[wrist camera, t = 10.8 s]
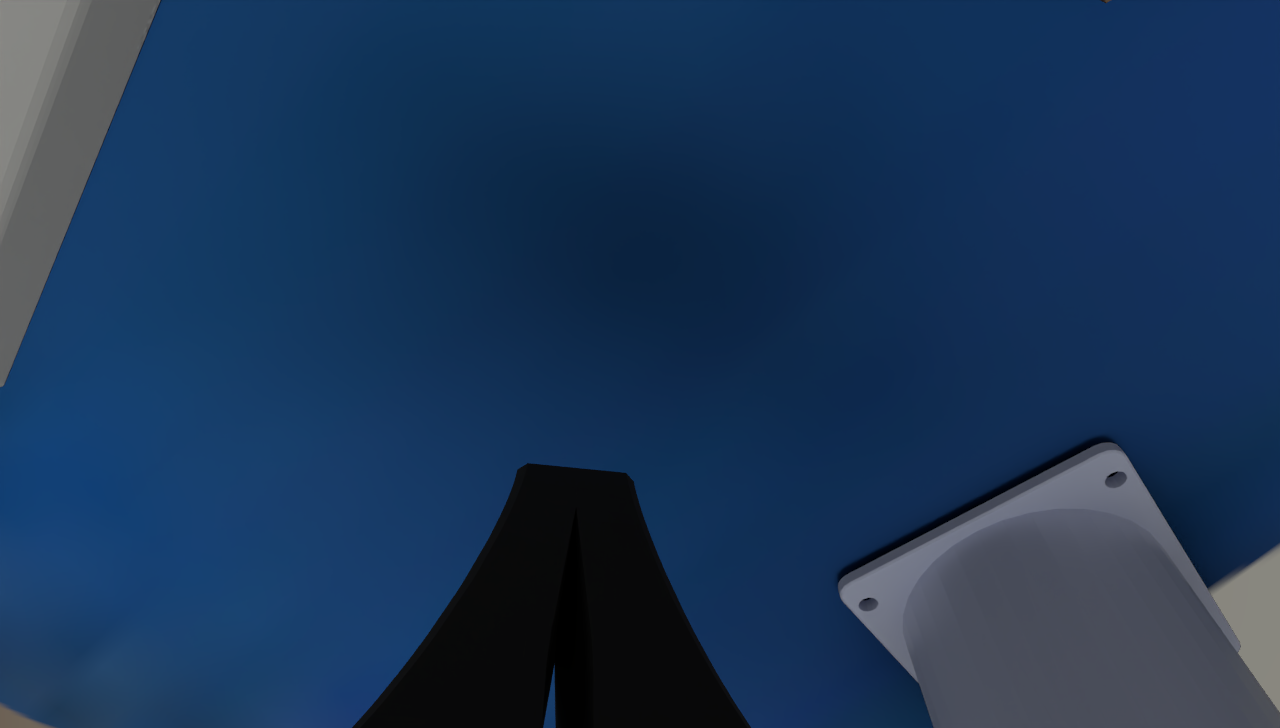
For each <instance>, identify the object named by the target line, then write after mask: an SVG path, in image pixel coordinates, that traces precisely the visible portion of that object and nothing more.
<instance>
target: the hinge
mask: <svg viewBox="0 0 1280 728" xmlns="http://www.w3.org/2000/svg"><path fill="white" fill-rule="evenodd" d="M159 3H160V0H0V387H2V386H4V384H5V381H6V379H7V376H8V374H9V371H10V369H11V366H12V364H13V362H14V359H15V357H16V354H17V352H18V349H19V347H20V344H21V342H22V339H23V337H24V335H25V332H26V330H27V327H28V325H29V322H30V320H31V317H32V315H33V312H34V310H35V308H36V305H37V303H38V300H39V298H40V295H41V293H42V290H43V288H44V285H45V283H46V280H47V278H48V276H49V273H50V271H51V268H52V266H53V263H54V261H55V258H56V256H57V253H58V251H59V249H60V246H61V244H62V241H63V239H64V236H65V234H66V231H67V229H68V226H69V224H70V222H71V219H72V217H73V214H74V212H75V209H76V207H77V204H78V202H79V199H80V197H81V194H82V192H83V190H84V187H85V185H86V182H87V180H88V177H89V175H90V172H91V170H92V167H93V165H94V163H95V160H96V158H97V155H98V153H99V150H100V148H101V145H102V143H103V140H104V138H105V136H106V133H107V131H108V128H109V126H110V123H111V121H112V118H113V116H114V113H115V111H116V109H117V106H118V104H119V101H120V99H121V96H122V94H123V91H124V89H125V86H126V84H127V81H128V79H129V77H130V74H131V72H132V69H133V67H134V64H135V62H136V59H137V57H138V54H139V52H140V50H141V47H142V45H143V42H144V40H145V37H146V35H147V32H148V30H149V27H150V25H151V23H152V20H153V18H154V15H155V13H156V10H157V8H158V5H159Z"/></svg>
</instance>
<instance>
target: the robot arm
mask: <svg viewBox="0 0 1280 728" xmlns="http://www.w3.org/2000/svg"><path fill="white" fill-rule="evenodd" d="M1117 471H1118V472H1117ZM1114 472H1117V473H1116V474H1115V475H1114V476H1112V477H1108V478H1107V476H1109V475H1110V474H1111V473H1114ZM838 590H839V594H840V597H841V599H842V601H843V602H844V603H845V604H846V605H847V607H848V608H849V609H850V610H851V611H852V612H853V613H854V614H855V615H856V616H857V617H858V618H859V620H860V621H861V622H862V623H863V624H864V625H865V626H866V627H867V628H868V629H869V630H870V631H871V632H872V634H873V635H874V636H875V637H876V638H877V639H878V640H879V641H880V642H881V643H882V644H883V645H884V647H885V648H886V649H887V650H888V651H889V652H890V653H891V654H892V655H893V656H894V657H895V658H896V659H897V661H898V662H899V663H900V664H901V665H902V666H903V667H904V668H905V669H906V670H907V671H908V672H909V674H910V675H911V676H912V677H913V678H914V679H915V680H916V681H917V682H918V683H919V685H920V688H921V691H922V694H923V697H924V700H925V703H926V706H927V709H928V712H929V715H930V718H931V721H932V724H933V727H934V728H1280V712H1279V711H1278V710H1277V708H1276V707H1275V705H1274V704H1273V703H1272V701H1271V700H1270V698H1269V697H1268V695H1267V694H1266V693H1265V691H1264V690H1263V688H1262V687H1261V686H1260V684H1259V683H1258V681H1257V680H1256V678H1255V677H1254V676H1253V674H1252V673H1251V671H1250V670H1249V668H1248V667H1247V666H1246V664H1245V663H1244V661H1243V660H1242V659H1241V657H1240V656H1239V654H1238V651H1239V649H1240V647H1241V646H1240V642H1239V640H1238V639H1237V637H1236V635H1235V634H1234V632H1233V630H1232V629H1231V627H1230V625H1229V624H1228V622H1227V620H1226V619H1225V617H1224V615H1223V614H1222V612H1221V610H1220V609H1219V607H1218V606H1217V604H1216V602H1215V601H1214V599H1213V597H1212V596H1211V594H1210V592H1209V591H1208V589H1207V587H1206V586H1205V584H1204V582H1203V581H1202V579H1201V578H1200V576H1199V574H1198V573H1197V571H1196V569H1195V568H1194V566H1193V564H1192V563H1191V561H1190V559H1189V558H1188V556H1187V554H1186V553H1185V551H1184V550H1183V548H1182V546H1181V545H1180V543H1179V541H1178V540H1177V538H1176V536H1175V535H1174V533H1173V531H1172V530H1171V528H1170V526H1169V525H1168V523H1167V522H1166V520H1165V518H1164V517H1163V515H1162V513H1161V512H1160V510H1159V508H1158V507H1157V505H1156V503H1155V502H1154V500H1153V498H1152V497H1151V495H1150V494H1149V492H1148V490H1147V489H1146V487H1145V485H1144V484H1143V482H1142V480H1141V479H1140V477H1139V475H1138V474H1137V472H1136V470H1135V469H1134V467H1133V466H1132V464H1131V462H1130V461H1129V459H1128V457H1127V456H1126V454H1125V453H1124V452H1123V450H1122V449H1121V448H1120V447H1119V446H1118V445H1117V444H1114V443H1110V442H1109V443H1100V444H1098V445H1095V446H1093V447H1091V448H1089V449H1087V450H1085V451H1083V452H1081V453H1079V454H1077V455H1075V456H1073V457H1071V458H1069V459H1068V460H1066V461H1064V462H1062V463H1060V464H1058V465H1056V466H1054V467H1052V468H1050V469H1048V470H1046V471H1044V472H1043V473H1041V474H1039V475H1037V476H1035V477H1033V478H1031V479H1029V480H1027V481H1025V482H1023V483H1021V484H1019V485H1018V486H1016V487H1014V488H1012V489H1010V490H1008V491H1006V492H1004V493H1002V494H1000V495H998V496H996V497H995V498H993V499H991V500H989V501H987V502H985V503H983V504H981V505H979V506H977V507H975V508H973V509H971V510H970V511H968V512H966V513H964V514H962V515H960V516H958V517H956V518H954V519H952V520H950V521H948V522H946V523H945V524H943V525H941V526H939V527H937V528H935V529H933V530H931V531H929V532H927V533H925V534H923V535H922V536H920V537H918V538H916V539H914V540H912V541H910V542H908V543H906V544H904V545H902V546H900V547H898V548H897V549H895V550H893V551H891V552H889V553H887V554H885V555H883V556H881V557H879V558H877V559H875V560H873V561H872V562H870V563H868V564H866V565H864V566H862V567H860V568H858V569H856V570H854V571H852V572H850V573H848V574H847V575H845V576H844V577H843V578H841V580H840V581H839V583H838ZM866 598H871V599H869V600H865V601H864V600H863V599H866ZM554 663H555V717H556V728H751V727H750V725H749V724H748V722H747V721H746V719H745V718H744V716H743V715H742V713H741V712H740V710H739V709H738V707H737V706H736V704H735V702H734V701H733V699H732V698H731V696H730V694H729V693H728V691H727V689H726V688H725V686H724V684H723V683H722V681H721V679H720V678H719V676H718V674H717V673H716V671H715V669H714V667H713V666H712V664H711V662H710V660H709V658H708V657H707V655H706V653H705V651H704V649H703V647H702V646H701V644H700V642H699V640H698V638H697V637H696V635H695V633H694V631H693V629H692V627H691V625H690V623H689V621H688V619H687V617H686V615H685V613H684V611H683V609H682V607H681V605H680V603H679V600H678V598H677V596H676V594H675V592H674V590H673V588H672V585H671V583H670V581H669V579H668V577H667V575H666V573H665V570H664V568H663V566H662V563H661V561H660V559H659V556H658V554H657V551H656V549H655V546H654V544H653V541H652V539H651V536H650V533H649V531H648V528H647V525H646V522H645V520H644V517H643V514H642V511H641V508H640V504H639V501H638V498H637V494H636V490H635V486H634V481H633V480H632V479H631V478H630V477H629V476H628V475H627V473H621V472H611V471H601V470H590V469H580V468H570V467H560V466H550V465H539V464H529V463H527V464H526V465H524V466H523V467H521V468H520V469H518V470H517V474H516V478H515V481H514V484H513V487H512V490H511V492H510V495H509V498H508V500H507V502H506V505H505V507H504V509H503V511H502V513H501V515H500V517H499V519H498V521H497V523H496V525H495V527H494V529H493V531H492V533H491V535H490V537H489V539H488V541H487V542H486V544H485V546H484V548H483V549H482V551H481V553H480V554H479V556H478V558H477V560H476V561H475V563H474V565H473V566H472V568H471V570H470V572H469V573H468V575H467V577H466V578H465V580H464V582H463V583H462V585H461V586H460V588H459V590H458V591H457V593H456V594H455V596H454V597H453V598H452V600H451V601H450V603H449V604H448V606H447V607H446V609H445V610H444V612H443V613H442V614H441V616H440V617H439V619H438V620H437V622H436V623H435V625H434V626H433V628H432V629H431V631H430V632H429V633H428V635H427V636H426V638H425V639H424V640H423V642H422V643H421V645H420V646H419V647H418V649H417V650H416V651H415V653H414V654H413V655H412V656H411V658H410V659H409V660H408V662H407V663H406V664H405V666H404V667H403V668H402V669H401V671H400V672H399V673H398V675H397V676H396V677H395V678H394V679H393V681H392V682H391V683H390V684H389V686H388V687H387V688H386V689H385V690H384V692H383V693H382V694H381V695H380V696H379V698H378V699H377V700H376V701H375V702H374V704H373V705H372V706H371V707H370V708H369V709H368V711H367V712H366V713H365V714H364V715H363V716H362V717H361V718H360V720H359V721H358V722H357V723H356V724H355V725H354V726H353V727H352V728H543V725H544V719H545V714H546V708H547V702H548V697H549V691H550V685H551V680H552V674H553V668H554Z"/></svg>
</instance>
